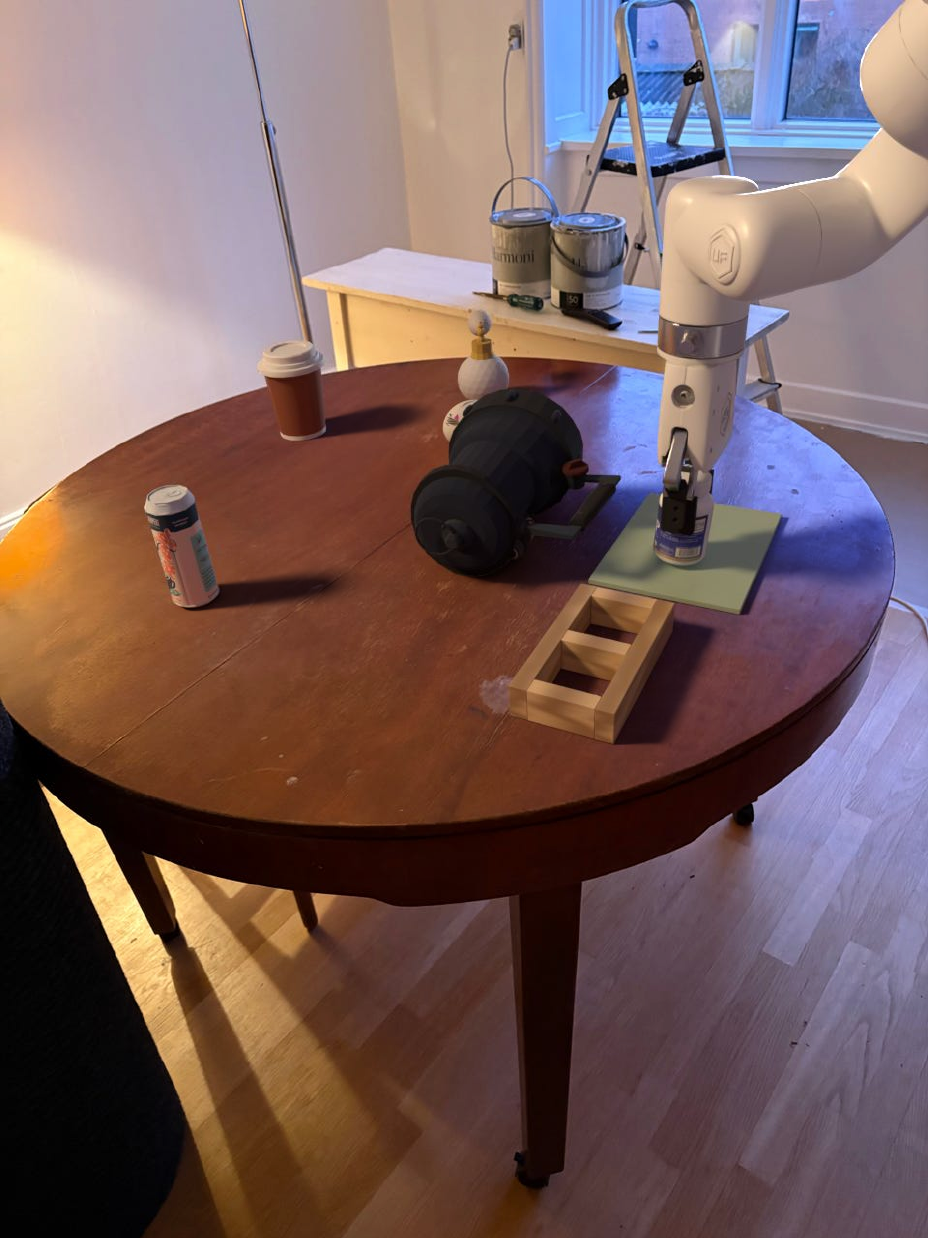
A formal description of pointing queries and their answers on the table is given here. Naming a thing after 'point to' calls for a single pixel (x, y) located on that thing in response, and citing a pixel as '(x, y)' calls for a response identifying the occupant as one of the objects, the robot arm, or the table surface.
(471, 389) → the perfume bottle
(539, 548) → the table surface
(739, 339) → the robot arm
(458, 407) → the white rounded ceramic piece
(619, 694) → the rack
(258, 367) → the coffee cup
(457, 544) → the flashlight
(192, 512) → the beer can
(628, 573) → the mat
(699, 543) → the pill bottle
